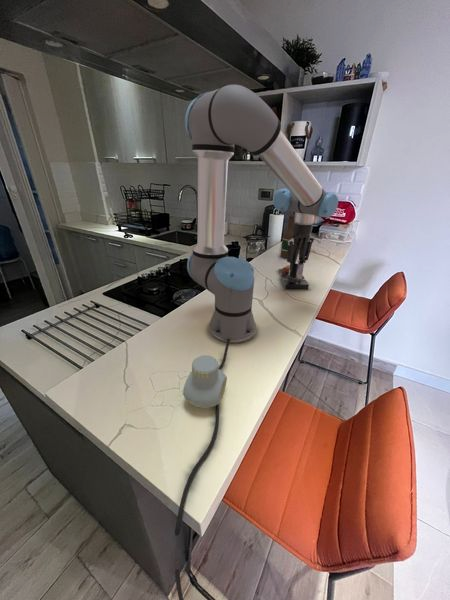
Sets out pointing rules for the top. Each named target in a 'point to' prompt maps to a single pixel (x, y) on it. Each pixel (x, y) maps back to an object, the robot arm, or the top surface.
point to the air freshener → (205, 383)
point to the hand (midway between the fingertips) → (295, 276)
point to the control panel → (294, 283)
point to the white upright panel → (297, 272)
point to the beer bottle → (287, 236)
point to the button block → (283, 271)
